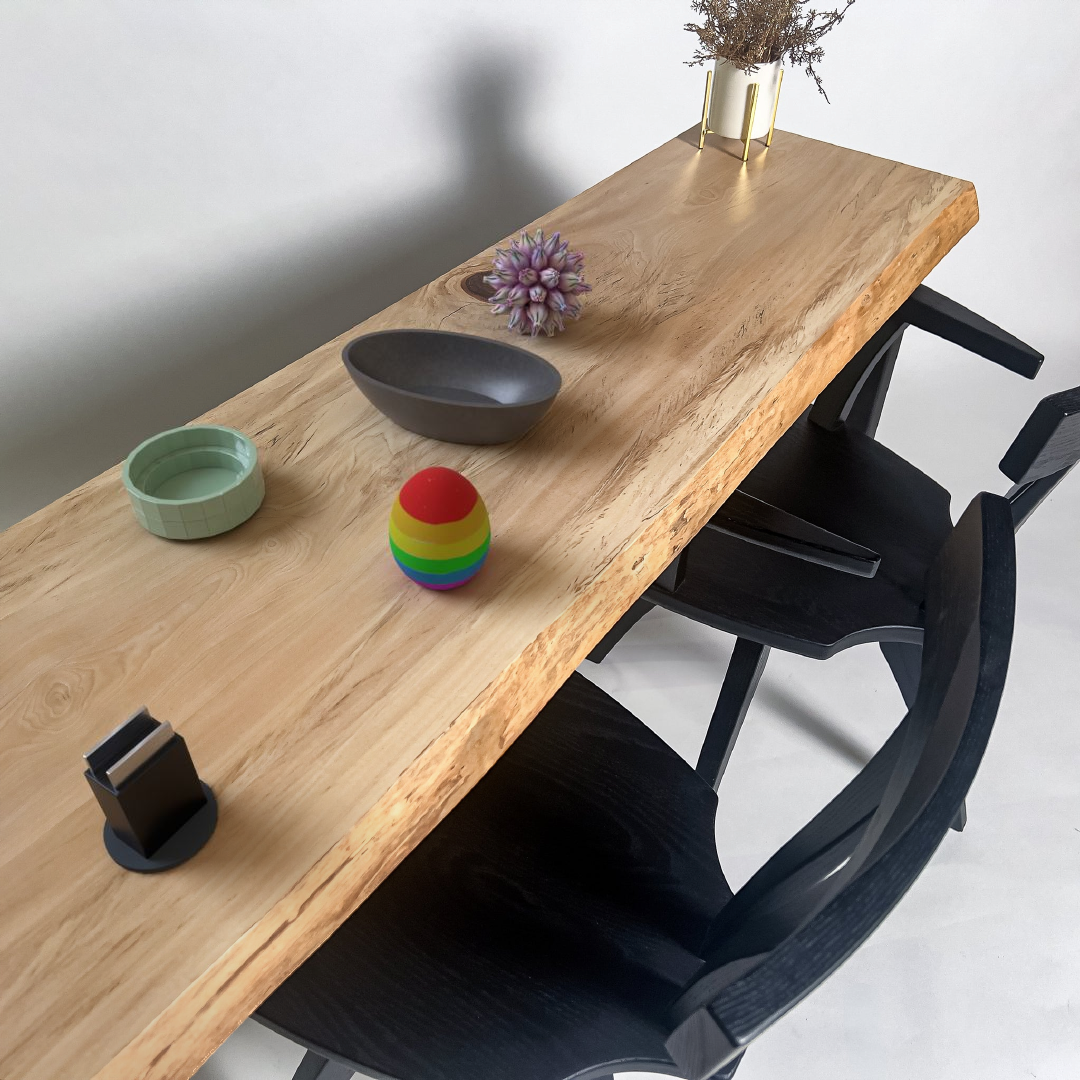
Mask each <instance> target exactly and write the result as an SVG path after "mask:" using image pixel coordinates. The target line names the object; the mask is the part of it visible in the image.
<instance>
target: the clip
mask: <svg viewBox="0 0 1080 1080" xmlns="http://www.w3.org/2000/svg"><path fill="white" fill-rule="evenodd" d="M82 757H83V759H84V761H85V762H86V765H87V767H88V768H87V769H86V770H85V771H83V775H84V777H85V780H86V781H87V783H88V785H89V787H90V789H91V791H92V793H93V795H94V797H95V799H96V800H97V802H98V805H99V807H100V808H101V811H102V812H103V814H104V816H105V819H106V818H107V820H108V822H109V824H110V826H111V828H112V830H113V832H114V834H115V836H116V837H117V838H119V839H120V840H121V841H123V842H124V843H125V844H127V845H128V846H129V847H131V848H132V849H133V850H135V851H136V852H137V853H139V854H140V855H142V856H143V857H144V858H146V859H149V858H150V857H151V856H152V855H153V854H154V853H155V852H156V851H157V850H158V849H159V848H160V847H161V846H162V845H163V844H164V843H166V842H167V841H168V840H169V839H170V838H171V837H172V836H173V835H174V834H175V833H176V832H177V831H178V830H179V829H180V828H181V827H182V826H183V825H184V824H185V823H186V822H187V821H188V820H189V819H191V818H192V817H193V816H194V815H195V814H196V813H197V812H198V811H199V810H200V809H201V808H202V807H203V806H204V805H205V804H206V803H207V802H208V801H207V798H206V795H205V793H204V790H203V788H202V785H201V782H200V780H201V779H200V777H199V774H198V771H197V769H196V767H195V764H194V761H193V758H192V757H191V753H190V750H189V748H188V745H187V743H186V740H185V737H183V736H182V735H181V734H179V733H178V732H176V731H174V729H173V727H172V724H171V722H170V721H169V720H168V719H166V720H164V722H161V721H160V720H158V719H156V718H155V717H153V716H151V714H150V711H149V709H148V706H146V705H145V704H143V705H142V706H141V707H139V708H138V709H137V710H136V711H135V712H133V713H132V714H131V715H130V716H129V717H127V718H126V719H125V720H124V721H122V722H121V723H120V724H119V725H118V726H116V727H115V728H114V729H113V730H112V731H111V732H109V733H108V734H107V735H106V736H105V737H103V738H102V739H101V740H100V741H98V742H97V743H96V744H95V745H94V746H92V747H91V748H90V749H89V750H87V752H85V753H84V754H83V755H82ZM199 779H200V780H199Z"/></svg>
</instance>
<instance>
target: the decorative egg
mask: <svg viewBox="0 0 1080 1080" xmlns="http://www.w3.org/2000/svg"><path fill="white" fill-rule="evenodd" d="M491 529H492V527H491V523H490V516H489V513H488V510H487V507H486V504H485V502H484V499H483V498H482V497H481V494H480V493H479V491H478V490H477V488H476V487H475V486H474V485H473V484H472V482H471V481H470V480H469V479H467V478H466V477H465V476H464V475H462V474H461V473H459V472H458V471H456V470H454V469H452V468H449V467H446V466H431V467H427V468H424V469H422V470H420V471H417V472H416V473H414V475H412V476H411V477H410V478H409V479H408V480H407V481H406V482H405V484H403V486H402V487H401V488H400V490H399V492H398V493H397V495H396V497H395V499H394V502H393V504H392V507H391V511H390V515H389V519H388V540H389V547H390V549H391V553H392V556H393V557H394V561H395V562H396V564H397V566H398V568H399V569H400V571H402V573H403V574H404V575H405V576H406V577H407V578H408V579H409V580H410V581H412V582H414V583H415V584H417V585H419V586H420V587H422V588H425V589H429V590H434V591H435V590H436V591H447V590H452V589H456V588H458V587H461V586H463V585H464V584H466V583H467V582H469V581H470V580H471V579H472V578H474V577H475V576H476V575H477V573H478V572H479V571H480V570H481V569H482V566H483V565H484V563H485V561H486V559H487V557H488V553H489V551H490V545H491V539H492V538H491V537H492V530H491Z"/></svg>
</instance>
